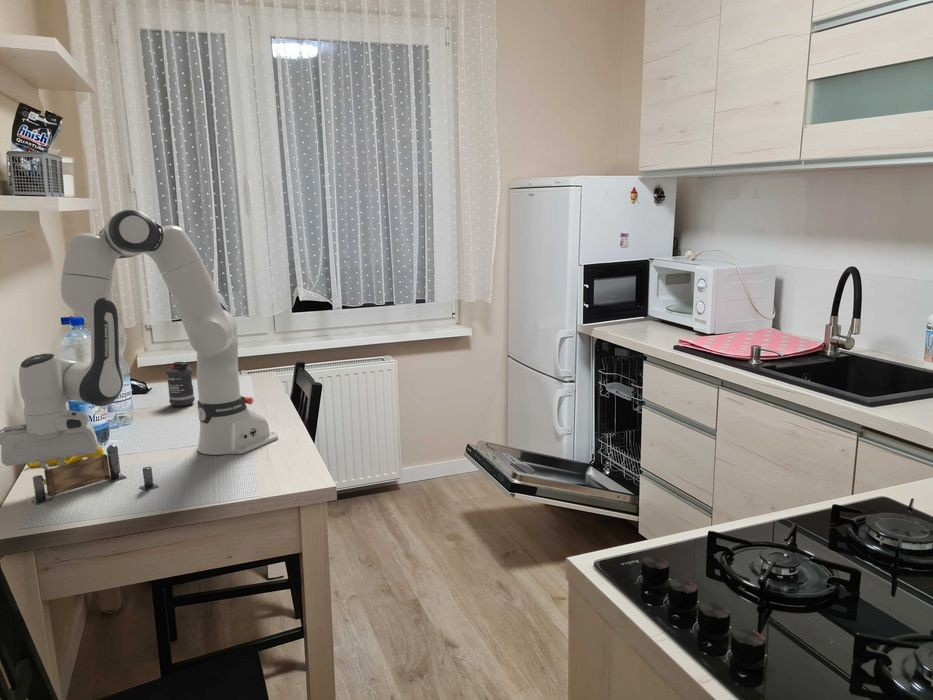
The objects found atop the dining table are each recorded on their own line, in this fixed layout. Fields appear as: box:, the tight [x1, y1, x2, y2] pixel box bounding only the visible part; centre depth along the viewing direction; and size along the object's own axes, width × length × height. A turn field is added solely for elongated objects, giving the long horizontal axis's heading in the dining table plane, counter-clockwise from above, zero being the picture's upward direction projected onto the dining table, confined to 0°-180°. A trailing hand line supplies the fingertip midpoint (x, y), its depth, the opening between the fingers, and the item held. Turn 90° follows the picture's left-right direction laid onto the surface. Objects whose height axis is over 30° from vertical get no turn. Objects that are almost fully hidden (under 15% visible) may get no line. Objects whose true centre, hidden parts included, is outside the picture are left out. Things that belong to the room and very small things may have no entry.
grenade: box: [166, 361, 195, 408], centre depth 239 cm, size 8×8×15 cm
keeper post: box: [139, 466, 160, 492], centre depth 170 cm, size 3×3×5 cm
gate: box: [44, 453, 110, 498], centre depth 169 cm, size 14×2×6 cm, turn 141°
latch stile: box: [30, 474, 52, 506], centre depth 162 cm, size 3×3×6 cm
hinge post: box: [106, 444, 127, 483], centre depth 175 cm, size 4×4×9 cm
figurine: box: [25, 444, 105, 468], centre depth 188 cm, size 14×5×18 cm
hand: (54, 475), depth 170 cm, fingers closed
